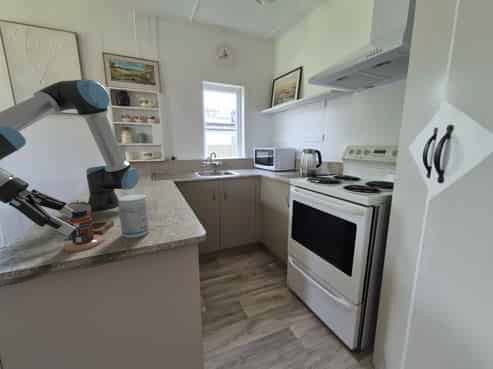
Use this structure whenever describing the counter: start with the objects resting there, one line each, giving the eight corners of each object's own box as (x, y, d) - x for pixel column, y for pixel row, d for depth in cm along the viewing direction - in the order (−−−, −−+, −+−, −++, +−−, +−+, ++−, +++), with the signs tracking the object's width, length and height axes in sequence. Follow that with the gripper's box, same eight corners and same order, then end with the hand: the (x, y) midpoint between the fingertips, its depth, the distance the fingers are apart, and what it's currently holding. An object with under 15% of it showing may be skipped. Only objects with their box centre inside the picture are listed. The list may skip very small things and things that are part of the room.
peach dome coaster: (76, 238, 77) (76, 236, 77) (109, 235, 79) (108, 233, 79) (55, 253, 66) (55, 250, 66) (94, 249, 68) (93, 246, 68)
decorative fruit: (96, 216, 101) (93, 196, 99) (88, 222, 93) (85, 201, 91) (73, 218, 99) (70, 198, 97) (63, 224, 91) (59, 202, 89)
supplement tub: (125, 230, 84) (121, 195, 81) (151, 227, 87) (147, 193, 84) (119, 240, 75) (114, 201, 72) (147, 237, 78) (143, 198, 75)
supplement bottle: (82, 246, 69) (77, 213, 67) (68, 244, 70) (62, 212, 68) (98, 238, 75) (94, 208, 73) (85, 237, 76) (80, 207, 74)
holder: (85, 227, 88) (84, 222, 88) (113, 225, 90) (113, 220, 90) (68, 238, 77) (68, 233, 77) (101, 235, 79) (100, 230, 79)
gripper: (12, 188, 70) (75, 222, 80) (-38, 206, 49) (57, 249, 59) (30, 172, 72) (90, 207, 82) (-10, 182, 51) (77, 228, 61)
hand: (76, 224), depth 71 cm, fingers open, 13 cm apart
